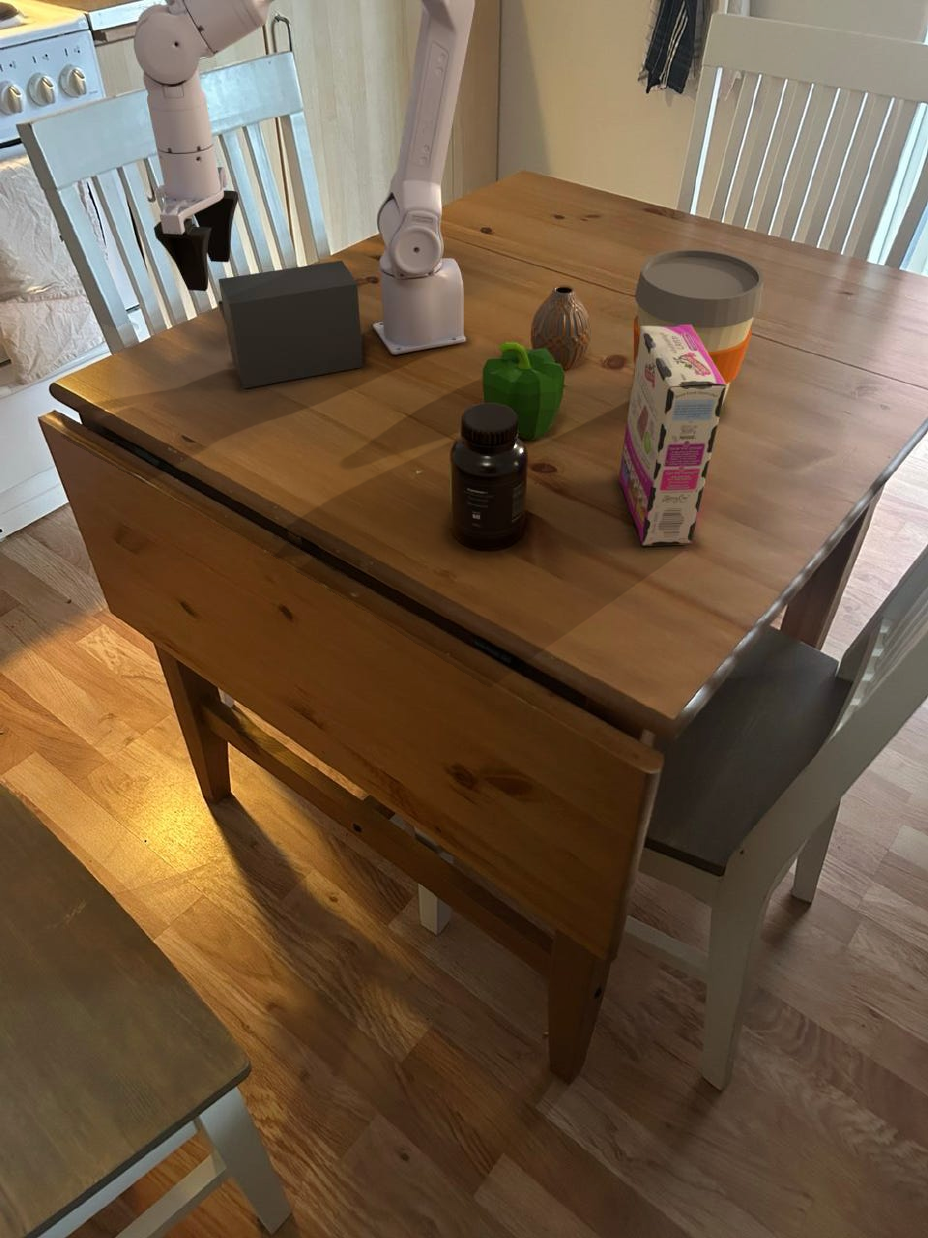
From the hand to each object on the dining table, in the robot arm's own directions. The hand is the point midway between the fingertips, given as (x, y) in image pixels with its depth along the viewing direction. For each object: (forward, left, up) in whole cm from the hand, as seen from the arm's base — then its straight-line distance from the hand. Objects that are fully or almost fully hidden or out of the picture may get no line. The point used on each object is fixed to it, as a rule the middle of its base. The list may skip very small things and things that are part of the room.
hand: (209, 274), depth 107 cm
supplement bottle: (-16, +43, -10) cm, 47 cm away
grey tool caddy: (-7, +9, -4) cm, 13 cm away
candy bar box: (-32, +46, -10) cm, 57 cm away
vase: (-36, +16, -10) cm, 41 cm away
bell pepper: (-26, +28, -10) cm, 40 cm away
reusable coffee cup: (-44, +30, -10) cm, 54 cm away
